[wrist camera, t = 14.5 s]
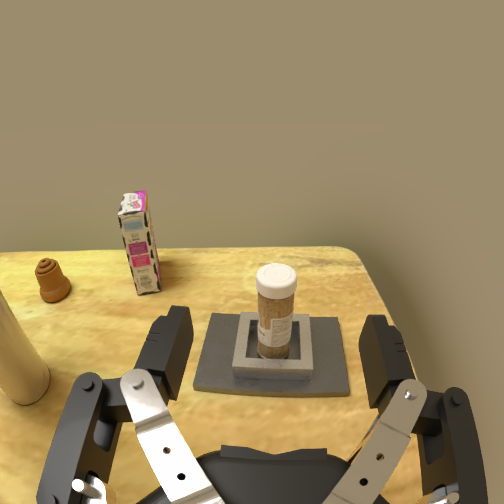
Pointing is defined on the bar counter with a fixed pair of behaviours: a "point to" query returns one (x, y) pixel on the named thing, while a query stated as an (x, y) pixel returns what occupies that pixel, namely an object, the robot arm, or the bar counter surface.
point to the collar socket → (272, 370)
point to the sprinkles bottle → (275, 309)
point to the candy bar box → (140, 242)
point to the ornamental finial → (51, 280)
